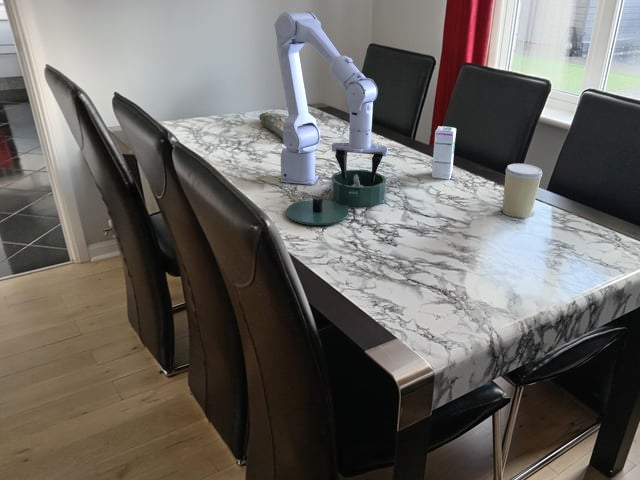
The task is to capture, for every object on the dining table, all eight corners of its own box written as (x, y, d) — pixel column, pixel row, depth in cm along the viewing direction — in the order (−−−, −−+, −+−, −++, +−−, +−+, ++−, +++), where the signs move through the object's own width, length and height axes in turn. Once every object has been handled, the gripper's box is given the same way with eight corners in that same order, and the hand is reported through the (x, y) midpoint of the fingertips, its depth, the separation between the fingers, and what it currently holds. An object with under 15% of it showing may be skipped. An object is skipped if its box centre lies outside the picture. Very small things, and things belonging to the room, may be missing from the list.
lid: (278, 224, 139) (278, 206, 137) (295, 201, 152) (294, 184, 150) (342, 230, 138) (342, 212, 135) (353, 206, 151) (353, 190, 149)
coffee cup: (536, 209, 157) (544, 166, 151) (532, 221, 149) (541, 176, 143) (502, 203, 159) (509, 161, 153) (496, 215, 152) (503, 170, 146)
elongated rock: (284, 149, 198) (311, 148, 202) (285, 133, 195) (312, 133, 200) (253, 119, 223) (277, 119, 228) (253, 105, 220) (278, 105, 225)
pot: (324, 208, 149) (324, 188, 147) (338, 183, 167) (339, 165, 164) (380, 213, 148) (381, 193, 146) (388, 187, 166) (389, 169, 163)
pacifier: (370, 192, 160) (349, 191, 160) (372, 171, 157) (350, 170, 156) (372, 202, 154) (350, 201, 153) (374, 180, 151) (351, 178, 150)
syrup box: (449, 179, 175) (455, 131, 167) (430, 177, 175) (435, 129, 168) (451, 174, 180) (457, 127, 172) (433, 172, 180) (437, 125, 173)
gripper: (329, 130, 145) (329, 181, 152) (386, 135, 144) (383, 187, 151) (335, 123, 152) (334, 173, 158) (389, 128, 150) (386, 178, 157)
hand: (358, 179), depth 155 cm, fingers open, 7 cm apart
